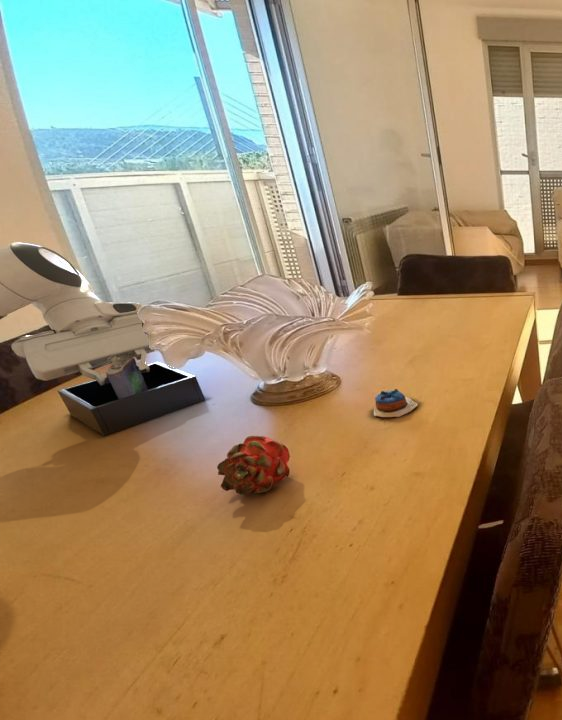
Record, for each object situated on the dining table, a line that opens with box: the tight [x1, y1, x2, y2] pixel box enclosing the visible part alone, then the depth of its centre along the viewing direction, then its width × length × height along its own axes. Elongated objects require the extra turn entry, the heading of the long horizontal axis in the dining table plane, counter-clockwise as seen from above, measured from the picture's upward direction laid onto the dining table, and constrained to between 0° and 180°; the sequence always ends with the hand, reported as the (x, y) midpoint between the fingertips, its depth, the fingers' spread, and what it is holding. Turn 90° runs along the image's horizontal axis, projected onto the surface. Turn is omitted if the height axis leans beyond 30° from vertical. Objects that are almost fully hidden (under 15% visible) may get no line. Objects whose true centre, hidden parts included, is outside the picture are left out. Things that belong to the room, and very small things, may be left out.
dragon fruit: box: [216, 435, 291, 495], centre depth 71 cm, size 8×8×12 cm
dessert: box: [373, 388, 419, 418], centre depth 93 cm, size 8×7×6 cm
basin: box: [57, 361, 206, 437], centre depth 95 cm, size 16×18×6 cm
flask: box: [106, 356, 148, 399], centre depth 94 cm, size 9×3×11 cm, turn 30°
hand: (126, 376), depth 94 cm, fingers closed on flask, 4 cm apart
